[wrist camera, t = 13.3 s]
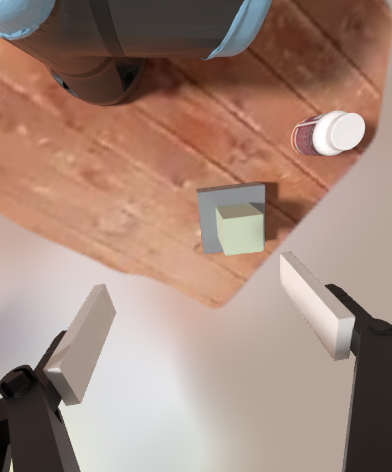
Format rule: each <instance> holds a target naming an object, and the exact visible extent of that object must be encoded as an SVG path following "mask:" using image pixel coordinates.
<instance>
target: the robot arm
mask: <svg viewBox="0 0 392 472" xmlns="http://www.w3.org/2000/svg"><path fill="white" fill-rule="evenodd" d="M271 2H272V0H0V38H3V39H4V40H6V41H8V42H9V43H11V44H13V45H14V46H16V47H17V48H19V49H21V50H22V51H24V52H26V53H27V54H29V55H31V56H32V57H34V58H36V59H37V60H39V61H40V62H42V63H44V64H45V66H46V68H47V69H48V71H49V72H50V74H51V75H52V77H53V78H54V79H55V80H56V81H57V83H58V84H59V85H60V86H61V87H63V88H64V89H65V90H66V91H67V92H69V93H70V94H71V95H73V96H75V97H77V98H79V99H81V100H83V101H85V102H87V103H90V104H93V105H99V106H108V105H114V104H117V103H119V102H122V101H123V100H125V99H126V98H128V97H129V96H130V95H131V94H132V93H133V92H134V91H135V89H136V88H137V86H138V85H139V83H140V81H141V79H142V76H143V73H144V68H145V61H146V58H200V59H202V60H208V59H212V58H214V57H227V56H235V55H237V54H239V53H241V52H242V51H244V50H245V49H246V48H247V47H248V46H249V45H250V44H251V43H252V41H253V40H254V38H255V37H256V35H257V33H258V32H259V30H260V28H261V26H262V24H263V22H264V20H265V17H266V15H267V13H268V10H269V8H270V5H271ZM280 266H281V267H280V269H281V285H282V286H283V288H284V289H285V291H286V292H287V294H288V295H289V297H290V298H291V299H292V301H293V302H294V304H295V305H296V306H297V308H298V309H299V311H300V312H301V314H302V315H303V317H304V318H305V320H306V321H307V323H308V324H309V325H310V327H311V328H312V330H313V331H314V333H315V334H316V335H317V337H318V338H319V340H320V341H321V343H322V344H323V346H324V347H325V349H326V350H327V351H328V353H329V354H330V356H331V357H332V359H333V360H334V361H336V360H342V359H347V358H349V355H350V350H351V351H352V353H353V354H354V355H355V356H356V361H355V367H354V378H353V387H352V394H351V402H350V411H349V419H348V427H347V435H346V443H345V452H344V460H343V468H342V472H392V325H391V324H389V323H388V322H386V321H383V320H380V319H375V318H373V317H372V316H371V315H370V314H368V313H367V312H366V311H365V310H364V309H363V308H362V307H361V306H360V305H359V304H358V303H356V302H355V301H354V300H353V299H352V298H351V297H350V296H348V294H347V293H346V292H344V291H343V290H342V289H341V288H340V287H338V286H336V285H334V284H328V285H323V284H322V283H321V282H320V281H319V280H318V279H317V278H316V277H315V276H314V275H313V274H312V273H311V272H310V271H309V270H308V269H307V268H306V267H305V266H304V264H303V263H302V262H301V261H299V259H298V258H297V257H296V256H294V254H293V253H292V252H291V251H290V252H283V253H280ZM115 314H116V311H115V309H114V306H113V304H112V301H111V299H110V296H109V294H108V291H107V289H106V286H105V284H101V285H96V286H94V287H93V289H92V291H91V292H90V294H89V296H88V297H87V299H86V300H85V302H84V304H83V306H82V307H81V309H80V310H79V312H78V314H77V315H76V317H75V319H74V320H73V322H72V323H71V325H70V327H69V328H68V330H66V331H62V332H61V333H60V334H59V335H58V336H57V337H56V338H55V339H54V340H53V342H52V344H51V345H50V347H49V348H48V349H47V351H46V354H44V355H43V357H42V359H41V360H40V362H39V363H38V365H37V366H36V368H35V369H34V371H33V370H32V368H31V367H30V366H29V365H22V366H19V367H17V368H15V369H13V370H12V371H10V372H9V373H7V374H6V376H4V377H3V378H2V380H1V381H0V394H1V395H2V396H3V398H1V399H0V472H9V470H10V465H11V459H12V462H13V472H80V469H79V466H78V463H77V460H76V457H75V454H74V451H73V448H72V445H71V442H70V438H69V436H68V432H67V430H66V427H65V424H64V420H63V417H62V415H61V412H60V410H59V408H58V405H59V403H60V401H61V399H62V400H63V401H64V403H65V405H66V406H68V405H75V404H80V403H81V402H82V399H83V396H84V394H85V391H86V388H87V386H88V384H89V381H90V378H91V376H92V373H93V371H94V368H95V366H96V363H97V360H98V358H99V355H100V353H101V350H102V347H103V345H104V342H105V340H106V337H107V335H108V332H109V329H110V327H111V324H112V321H113V319H114V316H115Z"/></svg>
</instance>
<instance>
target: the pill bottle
mask: <svg viewBox="0 0 392 472" xmlns="http://www.w3.org/2000/svg"><path fill="white" fill-rule="evenodd" d="M364 131H365V123H364V120H363V118H362V117H361V116H360V115H358V114H356V113H347V112H344V111H332V112H329V113H325V114H321V115H317V116H313V117H310V118H306V119H304V120H302V121H300V122H299V123H298V124H297V125H296V126H295V128H294V129H293V132H292V135H291V145H292V147H293V149H294V150H295V151H296V152H297V153H299V154H301V155H321V156H332V155H336V154H339V153H341V152H342V151H344V150H349V149H351V148H353V147H355V146H356V145H357V144H358V143H359V142H360V141H361V139H362V137H363V135H364Z"/></svg>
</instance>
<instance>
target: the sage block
mask: <svg viewBox="0 0 392 472" xmlns="http://www.w3.org/2000/svg"><path fill="white" fill-rule="evenodd" d="M216 218H217V231H218V238H219V241H220V243H221V246H222V248H223V251H224V253H225V256H227V255H235V254H243V253H251V252H259V251H263V214H262V213H261V212H260V211H258V210H257V209H256V208H255V207H253V206H252V205H251V204H250V203H240V204H231V205H223V206H216Z"/></svg>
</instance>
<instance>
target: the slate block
mask: <svg viewBox="0 0 392 472" xmlns="http://www.w3.org/2000/svg"><path fill="white" fill-rule="evenodd" d="M196 191H197V200H198V209H199V219H200V228H201V237H202V246H203V251H204V254H208V253H216V252H224V251H223V248H222V246H221V243H220V241H219V238H218V231H217V218H216V206H223V205H231V204H240V203H250V204H251V205H252V206H253V207H255V208H256V209H257V210H258V211H260V212H261V213H262V214H263V247H264V246H265V185H264V184H262V183H260V182H252V183H243V184H235V185H227V186H218V187H210V188H202V189H196Z"/></svg>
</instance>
